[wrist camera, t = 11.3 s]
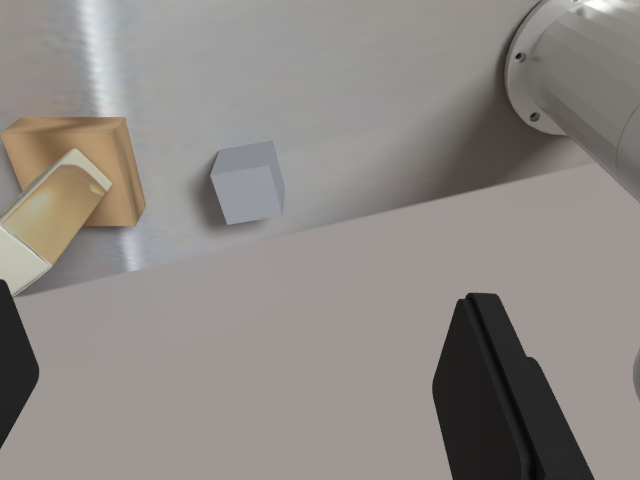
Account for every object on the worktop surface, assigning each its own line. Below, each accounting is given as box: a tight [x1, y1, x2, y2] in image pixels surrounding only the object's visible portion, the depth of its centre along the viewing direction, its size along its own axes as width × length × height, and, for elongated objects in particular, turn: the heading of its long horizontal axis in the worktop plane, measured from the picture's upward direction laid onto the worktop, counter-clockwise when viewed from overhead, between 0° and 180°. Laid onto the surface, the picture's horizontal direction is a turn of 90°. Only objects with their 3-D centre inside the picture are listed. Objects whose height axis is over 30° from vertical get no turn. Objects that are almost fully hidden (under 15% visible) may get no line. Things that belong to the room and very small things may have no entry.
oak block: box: [0, 117, 146, 226], centre depth 45 cm, size 9×9×4 cm
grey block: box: [210, 141, 285, 225], centre depth 45 cm, size 5×5×5 cm
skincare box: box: [0, 148, 113, 297], centre depth 38 cm, size 6×4×12 cm
